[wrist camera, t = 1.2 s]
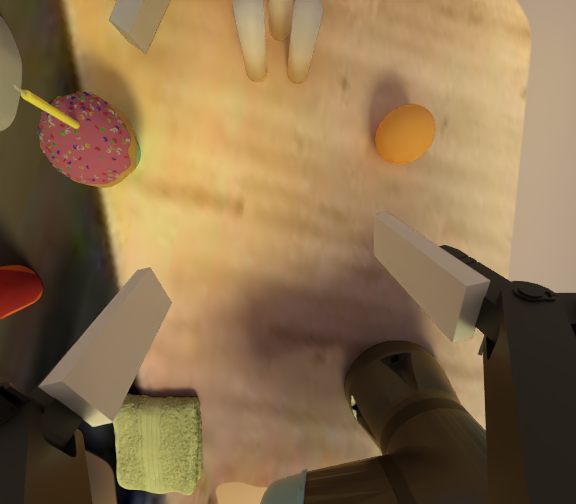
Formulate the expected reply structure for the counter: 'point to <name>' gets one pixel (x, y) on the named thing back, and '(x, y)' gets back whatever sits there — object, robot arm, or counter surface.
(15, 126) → the counter surface
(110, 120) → the cupcake
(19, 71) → the lumpy-topped squat cylinder
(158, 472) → the washcloth
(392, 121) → the ball
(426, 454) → the robot arm
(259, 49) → the pin
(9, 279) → the paper cup
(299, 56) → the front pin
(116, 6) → the white long bar
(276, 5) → the pin
